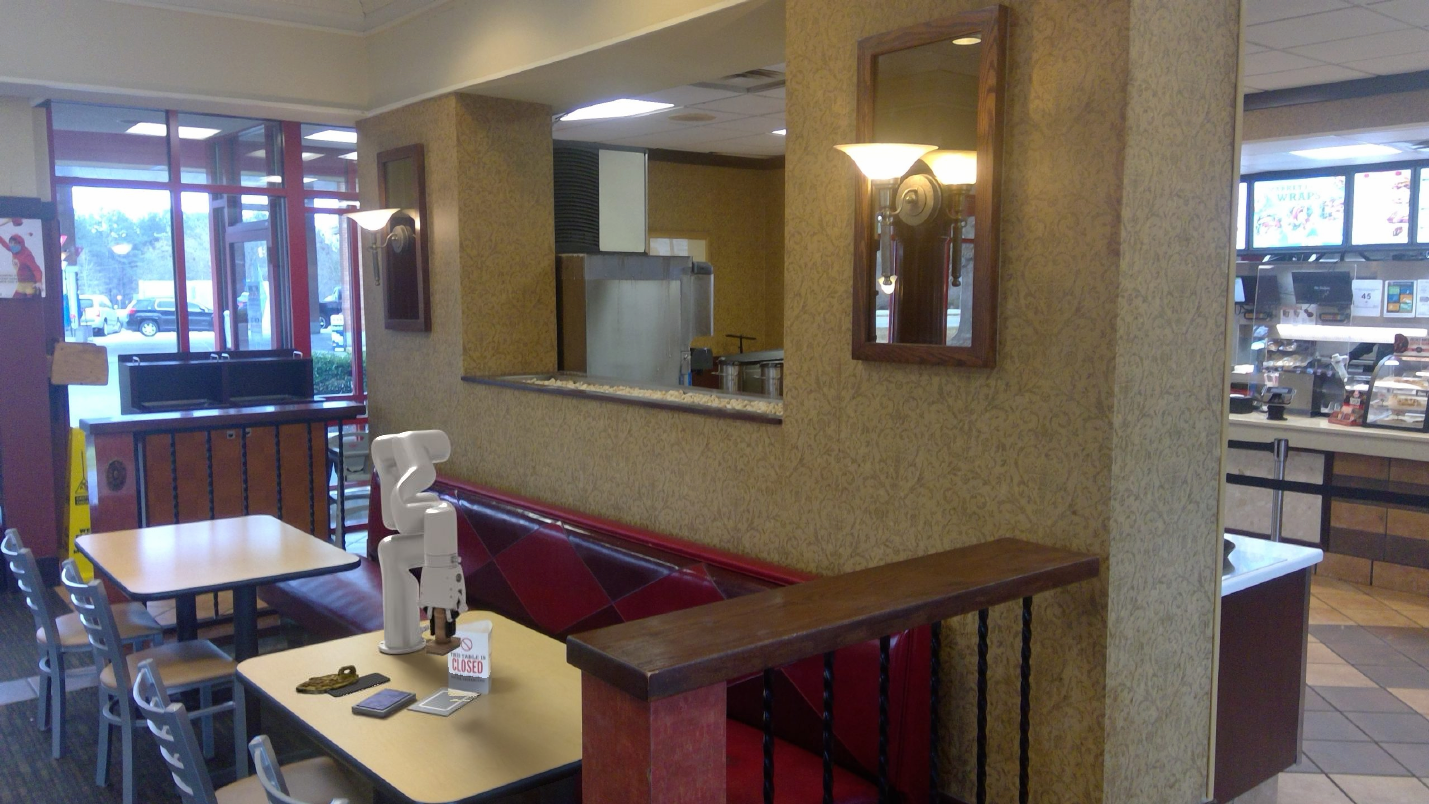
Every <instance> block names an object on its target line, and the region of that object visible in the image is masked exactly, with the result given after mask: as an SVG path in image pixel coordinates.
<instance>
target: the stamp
mask: <svg viewBox="0 0 1429 804" xmlns="http://www.w3.org/2000/svg"><path fill="white" fill-rule="evenodd" d="M434 615H435V635H434V639H433V640H431V641H429V642H426V644H425V646H424V648H425V654H426V655H427V654H428V655H434V656H440V657H444V656H446V655H447V654H449V653H452V652H454V651H456V650H457V649H459V648H461V645H462V640H461V639H462V638H461V637H458V636H452V637H450V638H446V636H445V622H446V621H447V615H446V609H443V608H435V609H434Z"/></svg>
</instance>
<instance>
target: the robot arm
mask: <svg viewBox="0 0 1429 804" xmlns="http://www.w3.org/2000/svg"><path fill="white" fill-rule="evenodd" d="M370 447H371V449H370V451H371V452H370V453H371V459H372V462H373V465H374V468H375V470H376V472H377V475H378V476H379V477H378V478H379V481H380V501H381V502H380V503H381V516H382V523H383V525H384V526H385V528H386V529H388V530H392V531H393V530H394V531H395V530H397V531H398V532H399V533H397V534H392V535H391V534H390V535H388V536H386V537H384V538H382V539H381V540H380V542H379V543H378V546H377V554H378V561H379V564H380V572H381V579H382V581H381V582H382V585H381V586H382V609H383V640H381V641H380V642H379V643H378V650H379V651H380V652H382V653H384V654H392V655H399V654H402V655H403V654H409V653H413V652H417V651H419V650H423V648H425V644H427V640H426V638H424V637H423V633H424V632H425V633H426V632H427V631H429V633H430V636H431V637H435V615H434V609H435V608H443V609H446V615H447V621H446V622H445V636H446V638H450V637H452V636H453V637H455V636H456V633H457V620H458V618H459V616H461V614H463V613H465V612H467V611H468V610H469V607H468V605H467V603H466V600H467V599H466V598H467V596H466V586H465V585H466V584H465V583H466V582H465V577H464V573H463V567H462V565H461V564H460V563H461V561H462V557H461V556H459V555H458V553H459V552H458V521H457V511H456V508H455V506H454V505H453V504H452V503H451V502H450V501H448V500H441V499H440V498H439V495H437V493H434V492H428V491H427V492H425V490H427V489H428V488H430V487H431V486H432V485H433V483H434V482H435V480H436V478H437V477H436V476H437V473H436V472H437V470H436V469H435V466H434V464H435V463H443V462H446V461H447V460H448V459H449V457H450V455H451V451H452V450H451V442H450V438H449V437H448V435H447V434H446V433H445V432H444V431H443V430H440V429H426V430H410V431H404V432H401V433H393V434H385V435H381V436H378V437H376V438H374V439H373V441H372V443H371V446H370ZM423 491H424V492H423ZM421 567H422V569H421V574H420V575H421V576H420V586H419V582H418V580H417V578H416V577H415V576H414V575H413V573H412V572H410V571H409V570H410V569H415V568H421ZM420 608H421V609H422V611H423V612H424V613H425V614H426V617H427V620H429V623H425V624H422V625H421V619H420V618H421V617H420V616H421V615H420V613H421V611H420Z"/></svg>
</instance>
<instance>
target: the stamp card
mask: <svg viewBox="0 0 1429 804" xmlns="http://www.w3.org/2000/svg"><path fill="white" fill-rule="evenodd" d="M448 688H449V687H446V686H442V687H440V688H438V689H437V690H436V691H434V692H432V693H431V694H429V695H427V696H425V697H423V698H422V699H420V700H418V701H417V702H415V703H414V704H412V705H410V706H408V707H407V708H406V710H408V711H413V712H419V713H425V714H430V715H435V714H437V715H436V716H441V715H444V716H443V717H448V716H449V715H448V714H450V713H451V714H453V713H454V712H456V711H457V710H458V709H457V708H459V707H461V706H462V707H464V706H465V705H466V704H465V703H467V702H468V703H469V701H463V700H471V699H473V698H474V697H476V696H474V697H473V696H471V697H470V696H468V695H467V696H449V695H450V694H449V695H448V692H449V691H448ZM476 698H477V697H476ZM453 699H458V700H460V701H450V700H453ZM473 700H474V699H473ZM468 703H467V704H468ZM464 704H465V705H464ZM463 705H464V706H463ZM462 707H461V708H462ZM456 709H457V710H456ZM459 709H460V708H459ZM455 710H456V711H455ZM453 711H454V712H453ZM452 712H453V713H452ZM451 714H450V715H451ZM447 715H448V716H447Z"/></svg>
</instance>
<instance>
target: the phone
mask: <svg viewBox="0 0 1429 804" xmlns="http://www.w3.org/2000/svg"><path fill="white" fill-rule="evenodd" d="M389 682H391V678H390V677H388V676H386V675H384V674H381V673H380V672H372V673H369V674H366V675H362V676H359V679H358V680H357V681H355V682H354V683H352V684H350V685H348V686H346V687H343V688H339V689H335V690H330V691H326V694H328V695H329V694H330V696H331V697H333V698H341V697H344V696H347V695H346V694H348V695H350V693H351V694H353V692H354V693H357V692H360V691H363V690H366V688H367V689H369V688H373V687H375V686H374V685H376V686H378V685H377V684H379V685H382V683H383V684H385V683H389ZM372 686H373V687H372ZM362 689H363V690H362ZM359 690H360V691H359ZM343 695H344V696H343Z"/></svg>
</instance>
